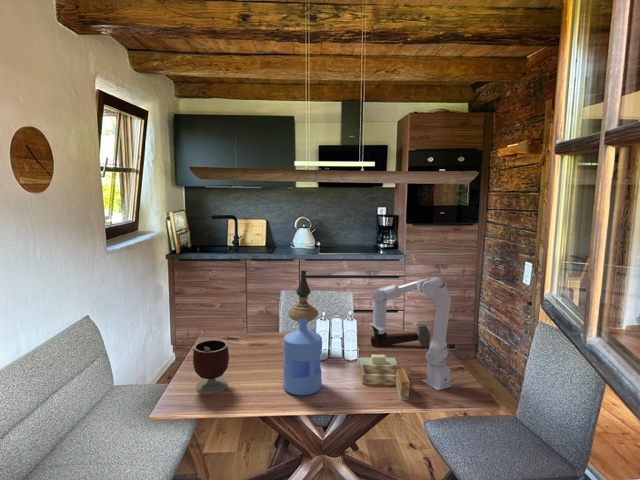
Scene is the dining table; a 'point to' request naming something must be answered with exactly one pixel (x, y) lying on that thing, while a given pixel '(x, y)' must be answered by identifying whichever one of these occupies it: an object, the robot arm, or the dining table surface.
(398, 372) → the golden block
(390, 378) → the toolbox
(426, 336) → the hammer
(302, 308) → the oil lamp
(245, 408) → the dining table surface
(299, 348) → the water jug
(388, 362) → the lid
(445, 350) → the robot arm
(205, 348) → the mate gourd
